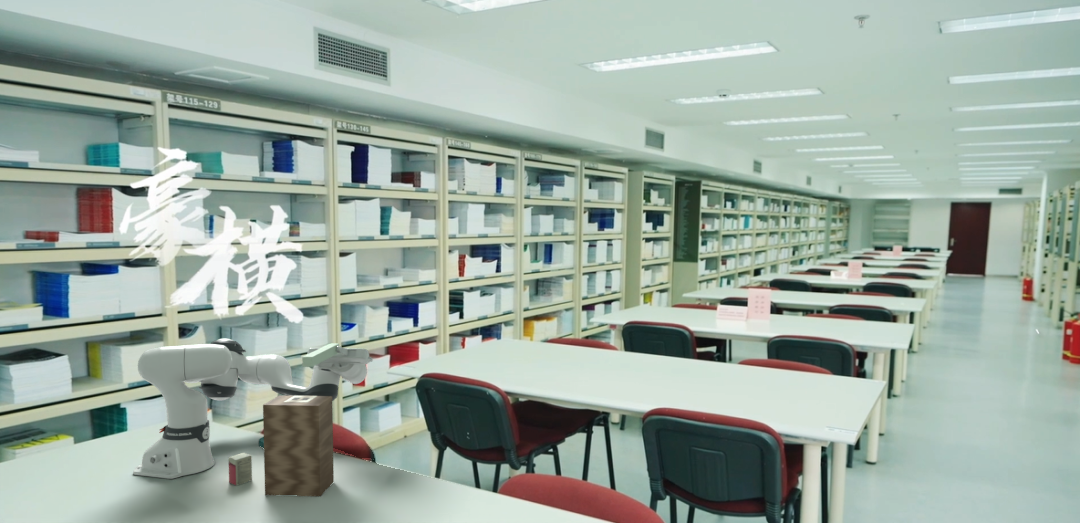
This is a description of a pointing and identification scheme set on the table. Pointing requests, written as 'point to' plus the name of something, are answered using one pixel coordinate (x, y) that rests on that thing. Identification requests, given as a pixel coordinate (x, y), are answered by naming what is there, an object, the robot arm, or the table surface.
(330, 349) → the bar
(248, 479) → the small box
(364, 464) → the table surface
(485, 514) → the table surface
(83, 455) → the table surface
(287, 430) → the stand
